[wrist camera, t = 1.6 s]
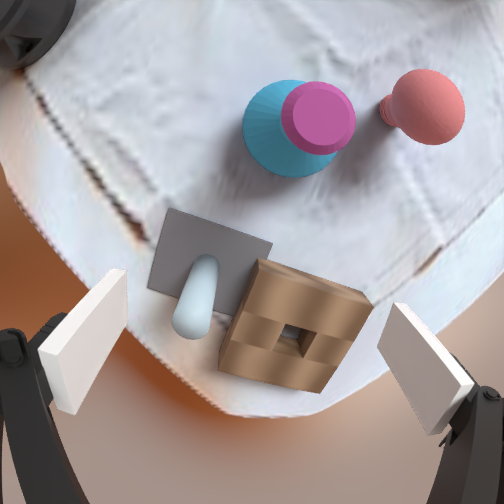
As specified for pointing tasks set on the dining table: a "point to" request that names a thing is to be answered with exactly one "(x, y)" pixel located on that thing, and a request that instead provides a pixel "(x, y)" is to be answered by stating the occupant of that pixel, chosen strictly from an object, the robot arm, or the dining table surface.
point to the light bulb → (425, 107)
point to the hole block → (296, 314)
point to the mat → (199, 243)
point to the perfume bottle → (297, 126)
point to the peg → (197, 299)
